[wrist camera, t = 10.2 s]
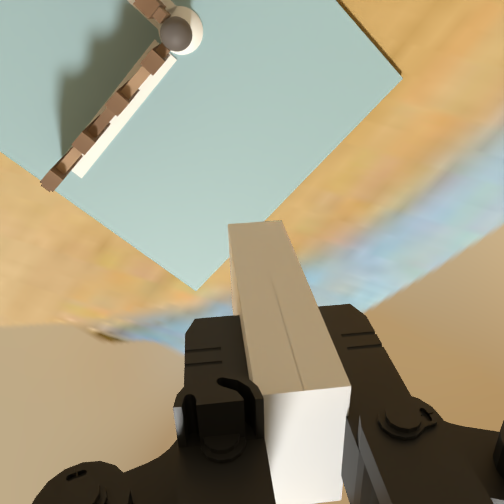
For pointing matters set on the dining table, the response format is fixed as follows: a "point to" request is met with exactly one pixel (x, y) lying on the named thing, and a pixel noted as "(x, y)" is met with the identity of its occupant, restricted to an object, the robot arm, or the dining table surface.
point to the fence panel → (105, 118)
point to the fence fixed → (167, 24)
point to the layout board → (184, 112)
